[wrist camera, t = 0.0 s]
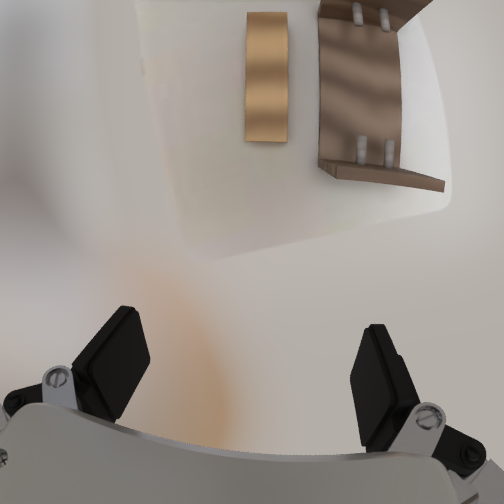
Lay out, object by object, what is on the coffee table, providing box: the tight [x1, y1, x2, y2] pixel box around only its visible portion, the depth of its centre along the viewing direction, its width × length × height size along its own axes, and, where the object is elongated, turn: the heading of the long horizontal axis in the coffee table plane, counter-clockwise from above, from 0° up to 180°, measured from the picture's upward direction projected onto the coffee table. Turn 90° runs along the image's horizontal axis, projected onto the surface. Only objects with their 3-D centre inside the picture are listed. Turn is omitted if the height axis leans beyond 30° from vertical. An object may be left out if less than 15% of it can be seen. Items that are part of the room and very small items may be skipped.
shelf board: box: [245, 12, 288, 143], centre depth 31 cm, size 18×5×6 cm, turn 179°
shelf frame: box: [318, 0, 445, 193], centre depth 25 cm, size 24×12×14 cm, turn 179°
